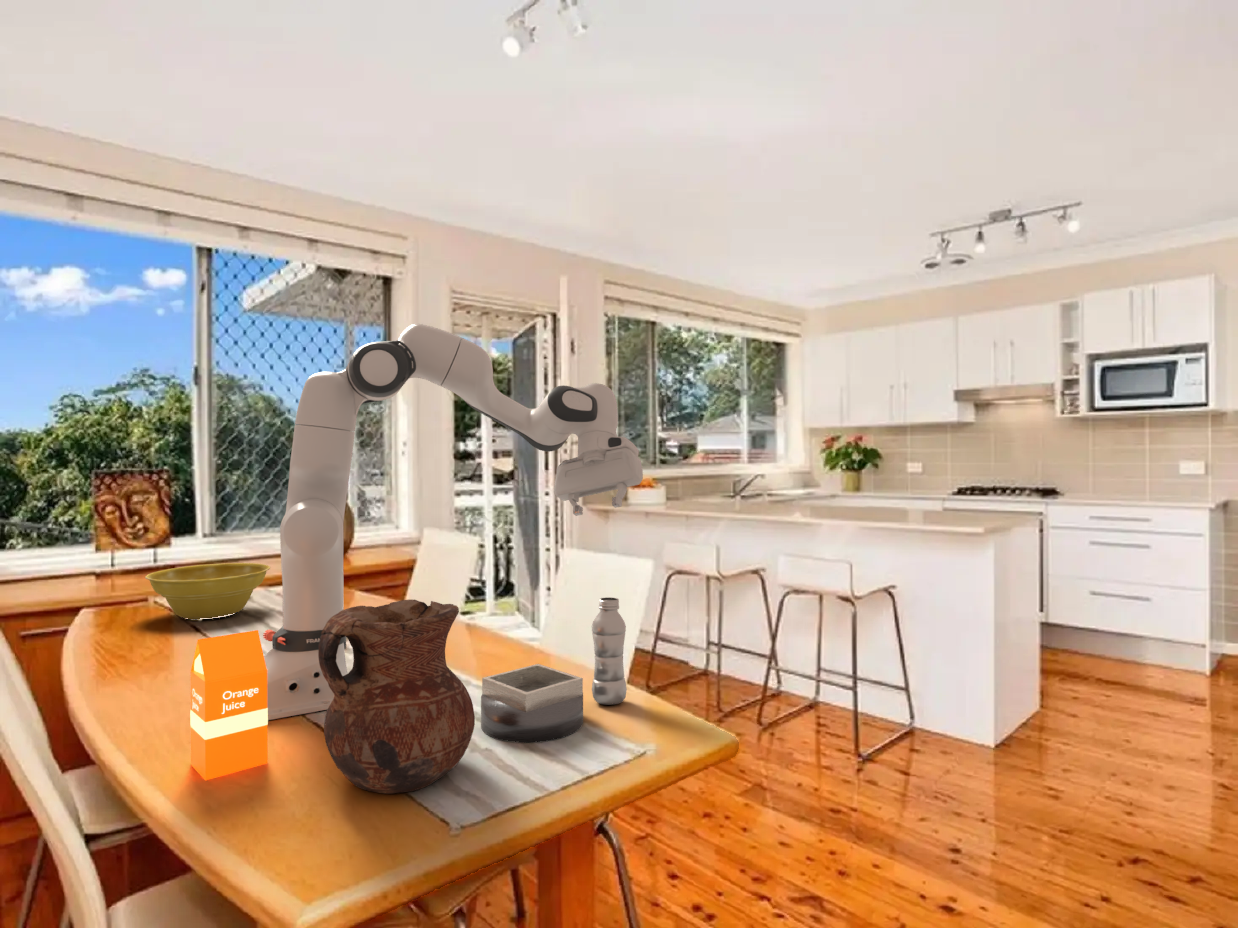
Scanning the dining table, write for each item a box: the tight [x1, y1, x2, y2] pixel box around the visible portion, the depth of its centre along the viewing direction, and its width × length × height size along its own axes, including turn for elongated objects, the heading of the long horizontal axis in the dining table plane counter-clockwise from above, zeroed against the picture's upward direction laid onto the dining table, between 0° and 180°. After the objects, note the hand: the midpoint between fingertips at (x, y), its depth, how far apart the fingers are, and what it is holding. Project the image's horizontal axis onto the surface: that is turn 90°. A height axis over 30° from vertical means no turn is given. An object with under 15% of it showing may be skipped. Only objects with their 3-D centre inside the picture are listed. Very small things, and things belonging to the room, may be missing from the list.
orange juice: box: [189, 629, 269, 781], centre depth 113 cm, size 8×9×20 cm
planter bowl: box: [144, 562, 271, 619], centre depth 217 cm, size 32×32×13 cm
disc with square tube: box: [480, 663, 584, 744], centre depth 132 cm, size 18×20×8 cm
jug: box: [318, 599, 476, 794], centre depth 110 cm, size 22×21×25 cm
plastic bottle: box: [591, 596, 628, 706], centre depth 141 cm, size 6×7×20 cm
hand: (597, 510), depth 155 cm, fingers open, 8 cm apart
